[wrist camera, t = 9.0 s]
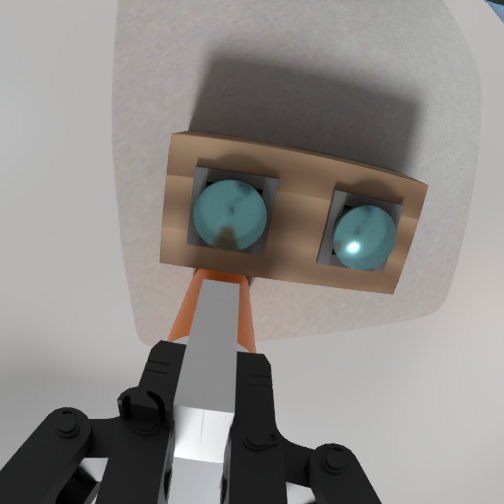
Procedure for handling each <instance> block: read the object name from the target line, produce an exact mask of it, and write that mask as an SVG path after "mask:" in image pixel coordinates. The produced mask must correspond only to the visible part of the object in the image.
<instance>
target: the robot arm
mask: <svg viewBox="0 0 504 504" xmlns="http://www.w3.org/2000/svg"><path fill="white" fill-rule="evenodd" d="M484 1H485V2H486V3H488V4H489V5H490V6H491V8H492V9H493V10H494V11H495V13H496V14H497V15H498V16H499V18H500V19H501V20H502V21H503V23H504V0H484ZM239 289H240V284H234V283H228V282H221V281H214V280H207V279H203V282H202V285H201V289H200V293H199V297H198V301H197V305H196V309H195V313H194V317H193V321H192V325H191V329H190V334H189V338H188V342H187V345H186V344H180V343H174V342H168V341H162V340H160V341H159V342H158V343H157V344H156V345H155V346H154V347H153V348H152V349H151V351H150V354H149V357H148V361H147V363H146V365H145V368H144V371H143V374H142V377H141V380H140V382H139V385H138V386H137V387H133V388H129V389H127V390H126V391H125V392H123V393H121V395H120V396H119V398H118V399H117V402H118V408H119V413H120V416H118V417H115V418H110V419H88V417H87V416H86V415H85V414H84V413H83V412H81V411H80V410H77V409H75V408H69V407H68V408H67V407H63V408H59V409H56V410H54V411H53V412H52V413H50V414H49V415H48V416H47V417H46V418H45V419H44V421H43V422H42V423H41V424H40V425H39V426H38V427H37V429H36V430H35V431H34V432H33V433H32V434H31V435H30V437H29V438H28V439H27V440H26V441H25V442H24V443H23V445H22V446H21V447H20V448H19V449H18V451H17V452H16V453H15V454H14V455H13V456H12V458H11V459H10V460H9V461H8V462H7V464H6V465H5V466H4V467H3V468H2V469H1V471H0V504H91V503H92V501H93V500H94V498H95V497H96V495H97V493H98V495H97V499H96V502H95V504H168V498H169V491H170V484H171V478H172V463H173V456H175V457H181V458H187V459H195V460H201V461H209V462H218V463H223V462H224V463H223V475H222V478H221V482H220V486H219V488H221V493H220V504H382V503H381V502H380V500H379V498H378V496H377V494H376V492H375V491H374V489H373V487H372V485H371V483H370V482H369V480H368V478H367V476H366V474H365V473H364V471H363V469H362V467H361V465H360V463H359V462H358V460H357V458H356V456H355V455H354V454H353V453H352V452H351V450H349V449H348V448H346V447H344V446H342V445H338V444H334V443H332V444H324V445H321V446H319V447H317V448H316V449H315V450H314V449H310V448H307V447H303V446H300V445H297V444H294V443H292V442H290V441H288V440H287V439H285V438H284V437H283V436H282V435H281V434H280V432H279V431H278V429H277V426H276V422H275V410H274V398H273V388H272V379H271V378H272V375H271V365H270V363H269V361H268V360H267V358H266V357H265V355H264V354H257V353H249V352H241V351H237V336H238V312H239Z"/></svg>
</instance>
